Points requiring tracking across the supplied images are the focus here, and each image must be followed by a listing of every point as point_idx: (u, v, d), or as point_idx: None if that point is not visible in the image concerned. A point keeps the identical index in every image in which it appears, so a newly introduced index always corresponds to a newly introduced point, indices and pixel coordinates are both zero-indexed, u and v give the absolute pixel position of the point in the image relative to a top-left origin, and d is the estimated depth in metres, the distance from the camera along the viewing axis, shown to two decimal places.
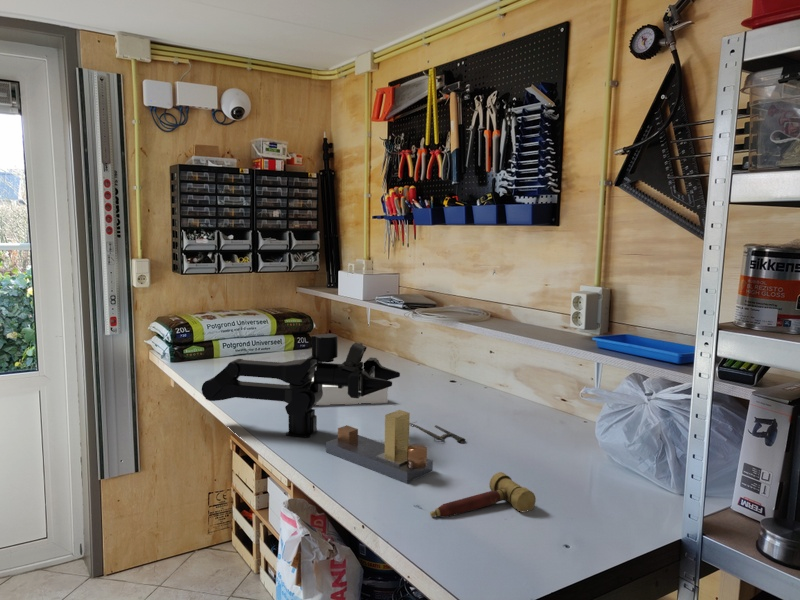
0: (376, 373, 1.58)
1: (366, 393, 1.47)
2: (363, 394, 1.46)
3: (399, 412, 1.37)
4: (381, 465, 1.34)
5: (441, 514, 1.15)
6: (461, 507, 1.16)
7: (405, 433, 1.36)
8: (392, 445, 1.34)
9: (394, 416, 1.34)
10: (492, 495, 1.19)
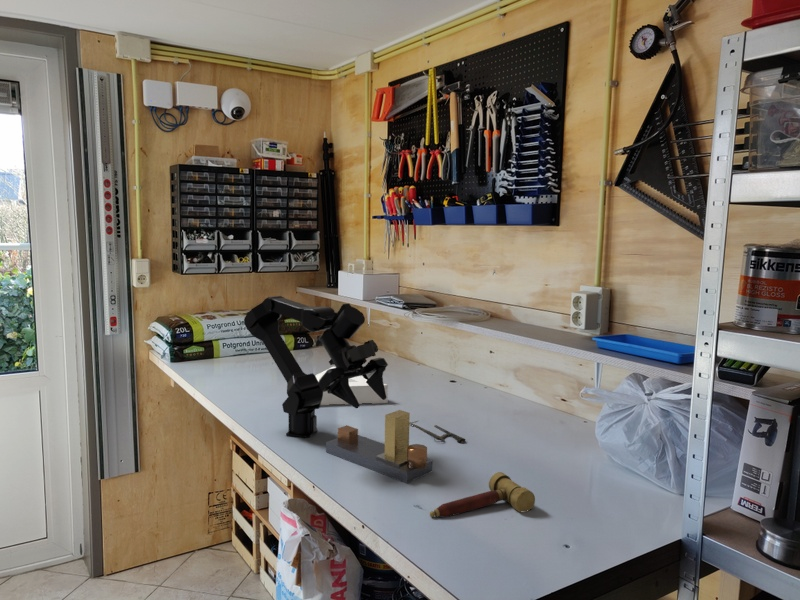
0: (372, 377, 1.48)
1: (334, 393, 1.40)
2: (330, 392, 1.39)
3: (399, 412, 1.37)
4: (381, 465, 1.34)
5: (440, 514, 1.15)
6: (461, 507, 1.16)
7: (405, 433, 1.36)
8: (392, 445, 1.34)
9: (394, 416, 1.34)
10: (492, 495, 1.19)
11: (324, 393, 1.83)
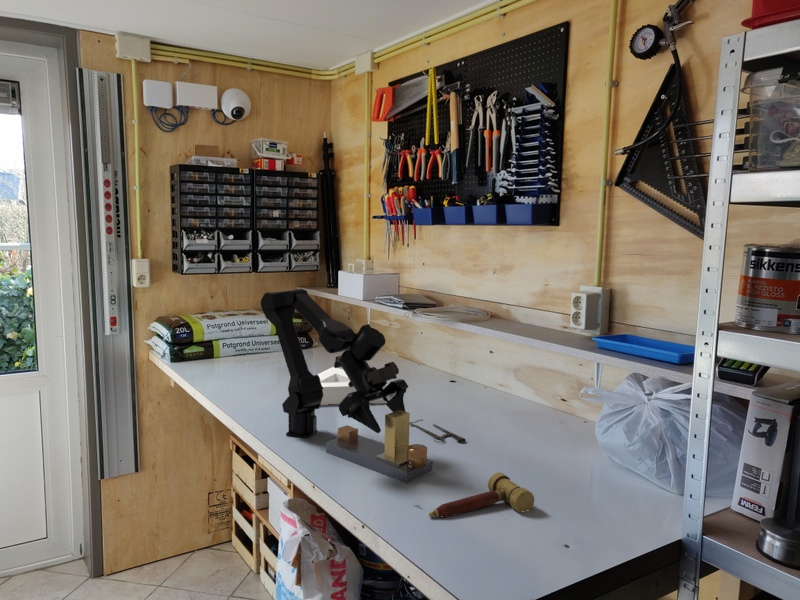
0: (392, 400, 1.44)
1: (354, 417, 1.36)
2: (350, 416, 1.35)
3: (399, 412, 1.37)
4: (381, 465, 1.34)
5: (440, 515, 1.15)
6: (460, 507, 1.16)
7: (405, 433, 1.36)
8: (392, 445, 1.34)
9: (394, 416, 1.34)
10: (491, 495, 1.19)
11: (324, 393, 1.83)
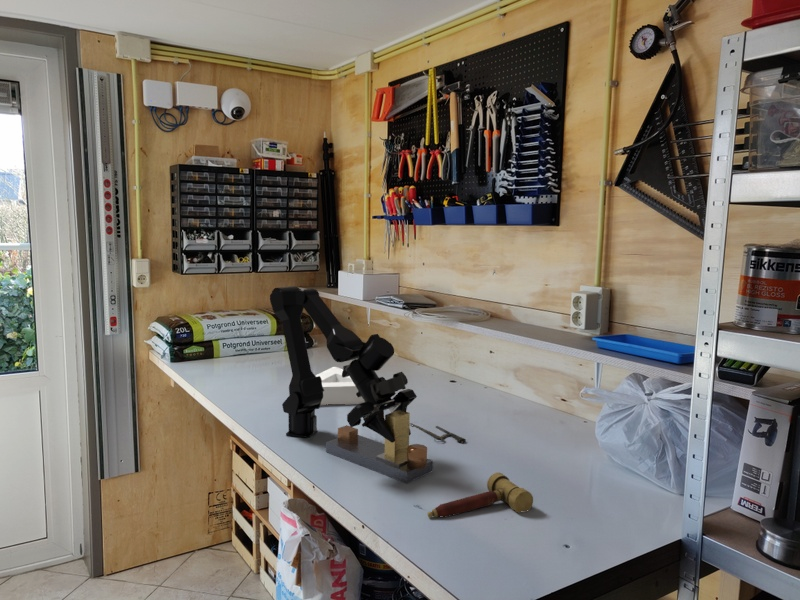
0: None
1: (368, 426, 1.36)
2: (364, 425, 1.35)
3: (399, 412, 1.37)
4: (381, 465, 1.34)
5: (438, 515, 1.15)
6: (459, 507, 1.16)
7: (405, 433, 1.36)
8: (392, 445, 1.34)
9: (394, 416, 1.34)
10: (490, 495, 1.19)
11: (324, 393, 1.84)
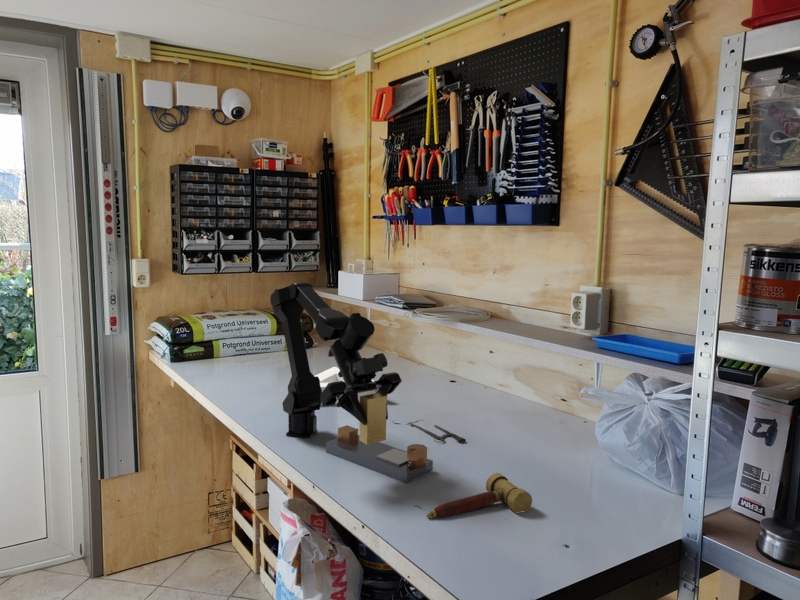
0: None
1: (343, 407, 1.32)
2: (339, 406, 1.32)
3: (376, 395, 1.32)
4: (381, 465, 1.34)
5: (437, 515, 1.15)
6: (457, 508, 1.16)
7: (380, 417, 1.31)
8: (365, 427, 1.29)
9: (367, 398, 1.29)
10: (489, 496, 1.19)
11: None
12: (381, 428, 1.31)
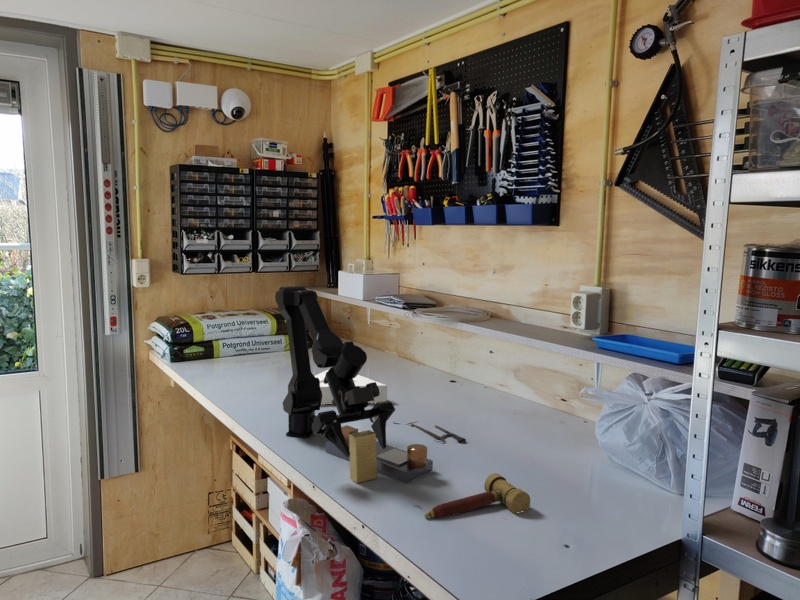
0: (375, 422, 1.36)
1: (327, 437, 1.31)
2: (323, 436, 1.31)
3: (365, 432, 1.32)
4: (381, 465, 1.34)
5: (435, 515, 1.14)
6: (456, 508, 1.16)
7: (370, 455, 1.31)
8: (355, 465, 1.29)
9: (356, 436, 1.29)
10: (487, 496, 1.19)
11: (323, 393, 1.84)
12: (371, 466, 1.31)
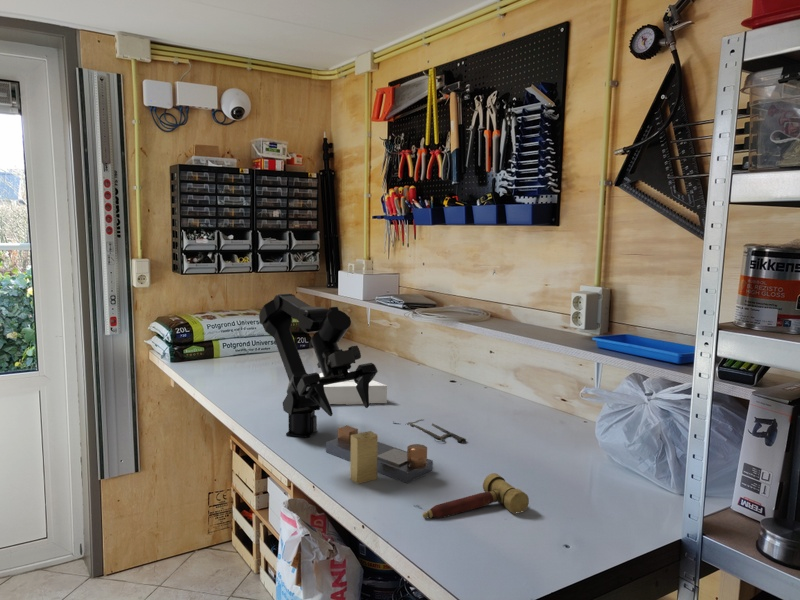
0: (359, 383, 1.43)
1: (312, 398, 1.38)
2: (308, 397, 1.38)
3: (367, 433, 1.31)
4: (381, 465, 1.34)
5: (433, 515, 1.14)
6: (454, 508, 1.16)
7: (371, 456, 1.30)
8: (355, 467, 1.29)
9: (357, 437, 1.29)
10: (485, 496, 1.19)
11: None
12: (372, 467, 1.31)
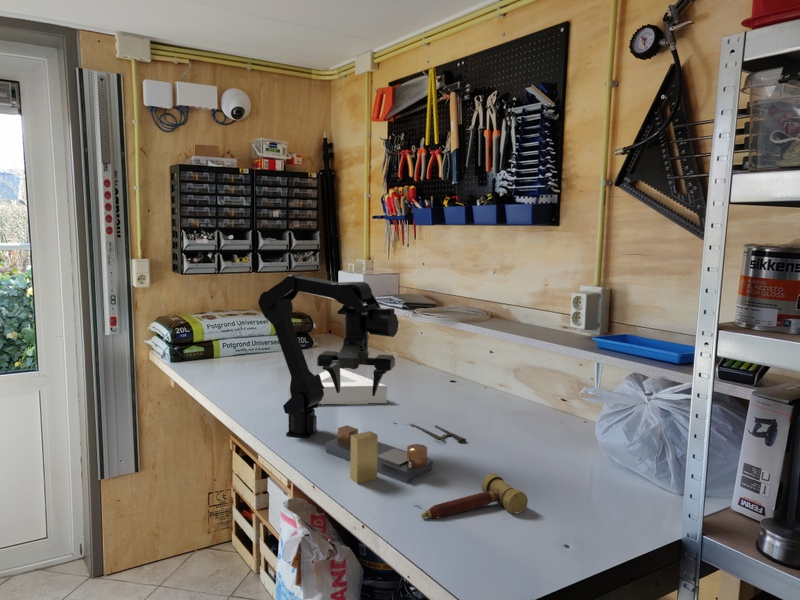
0: None
1: None
2: None
3: (367, 433, 1.31)
4: (381, 465, 1.34)
5: (432, 515, 1.14)
6: (453, 508, 1.16)
7: (371, 456, 1.30)
8: (355, 467, 1.29)
9: (357, 437, 1.29)
10: (484, 496, 1.19)
11: None
12: (372, 467, 1.31)
